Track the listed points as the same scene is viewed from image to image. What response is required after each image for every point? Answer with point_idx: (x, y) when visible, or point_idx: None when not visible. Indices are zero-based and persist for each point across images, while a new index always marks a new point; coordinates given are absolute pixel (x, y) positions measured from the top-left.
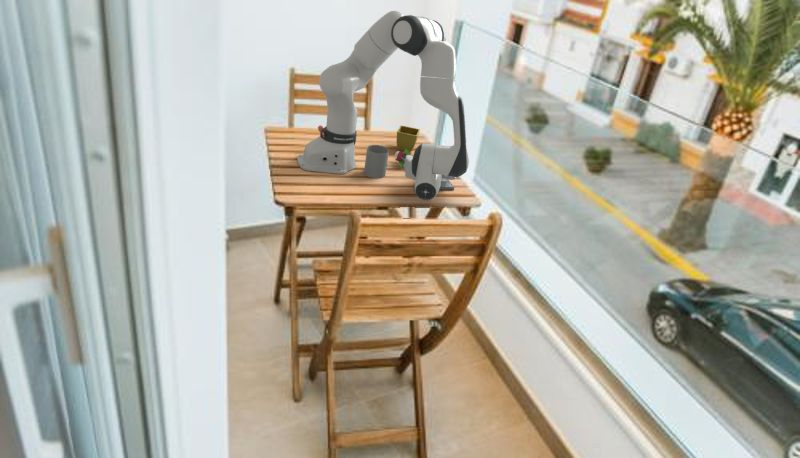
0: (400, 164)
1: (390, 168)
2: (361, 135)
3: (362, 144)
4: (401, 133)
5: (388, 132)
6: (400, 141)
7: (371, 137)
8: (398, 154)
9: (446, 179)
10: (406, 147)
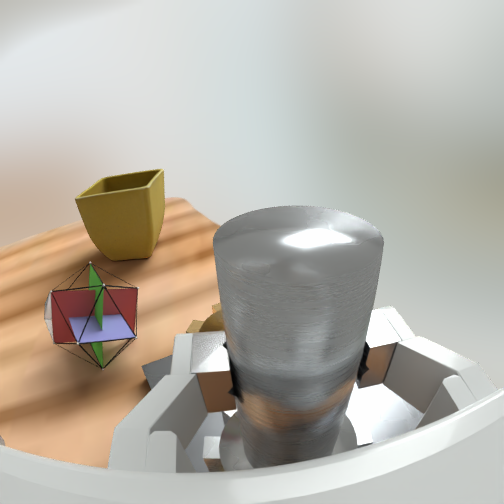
0: (94, 349)
1: (43, 398)
2: (31, 246)
3: (12, 277)
4: (89, 199)
5: None
6: (99, 230)
7: (52, 243)
8: (52, 311)
9: (389, 394)
10: (128, 244)
